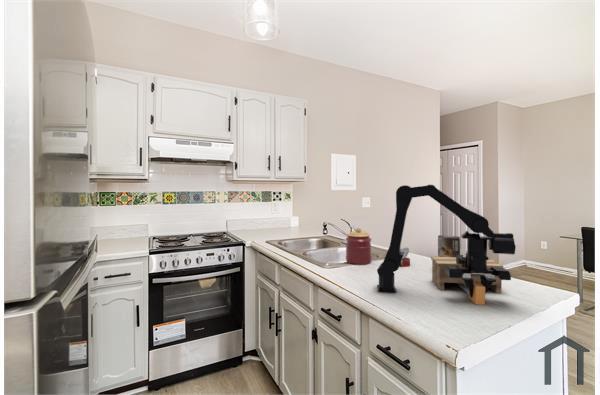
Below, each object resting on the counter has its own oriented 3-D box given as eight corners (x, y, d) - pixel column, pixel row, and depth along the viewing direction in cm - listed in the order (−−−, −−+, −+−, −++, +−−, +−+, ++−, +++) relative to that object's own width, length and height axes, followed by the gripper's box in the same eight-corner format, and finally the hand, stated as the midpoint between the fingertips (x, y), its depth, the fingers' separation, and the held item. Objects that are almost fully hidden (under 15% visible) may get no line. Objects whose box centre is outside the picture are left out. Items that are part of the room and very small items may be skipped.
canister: (348, 257, 163) (348, 225, 162) (373, 259, 158) (373, 226, 158) (343, 263, 151) (343, 228, 150) (369, 266, 146) (369, 230, 146)
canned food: (407, 276, 145) (408, 260, 140) (386, 271, 150) (386, 256, 145) (412, 261, 153) (413, 245, 148) (392, 256, 158) (392, 242, 153)
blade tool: (507, 306, 97) (507, 287, 97) (475, 304, 99) (475, 286, 99) (482, 286, 116) (482, 270, 116) (456, 284, 118) (456, 269, 118)
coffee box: (460, 271, 136) (460, 236, 136) (460, 275, 131) (460, 238, 130) (438, 268, 141) (438, 234, 140) (437, 272, 135) (437, 237, 134)
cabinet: (503, 293, 108) (504, 266, 108) (438, 290, 112) (438, 263, 112) (489, 283, 119) (489, 258, 119) (430, 280, 124) (431, 256, 123)
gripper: (496, 247, 107) (495, 290, 108) (440, 246, 111) (440, 287, 111) (512, 255, 97) (511, 302, 97) (450, 253, 100) (449, 299, 101)
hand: (476, 297), depth 102 cm, fingers closed on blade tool, 3 cm apart
